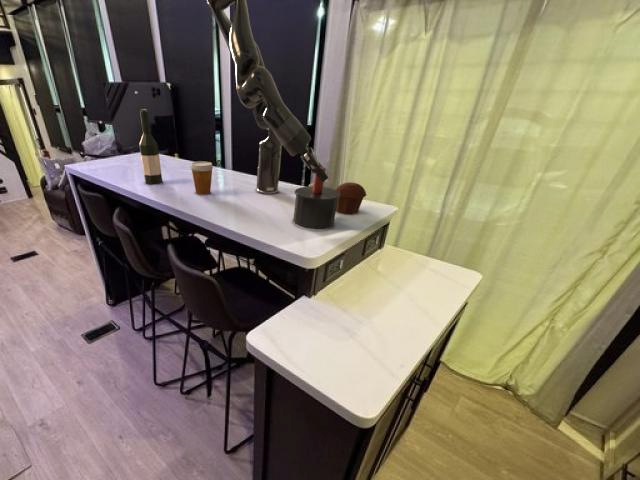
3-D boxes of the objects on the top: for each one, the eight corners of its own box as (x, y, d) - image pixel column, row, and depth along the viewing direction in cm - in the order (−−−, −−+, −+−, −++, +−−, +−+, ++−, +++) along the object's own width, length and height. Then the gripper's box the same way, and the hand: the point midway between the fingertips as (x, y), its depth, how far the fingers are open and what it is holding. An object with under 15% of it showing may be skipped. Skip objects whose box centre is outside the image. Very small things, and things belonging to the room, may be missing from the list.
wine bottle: (160, 184, 146) (150, 110, 128) (142, 184, 146) (130, 110, 128) (164, 180, 152) (155, 109, 135) (147, 180, 152) (136, 108, 135)
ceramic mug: (304, 198, 131) (307, 179, 126) (320, 196, 134) (323, 177, 129) (320, 206, 123) (323, 186, 119) (336, 203, 126) (340, 184, 122)
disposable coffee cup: (211, 189, 141) (209, 160, 134) (216, 195, 133) (215, 165, 127) (190, 190, 138) (188, 161, 131) (194, 196, 131) (192, 166, 124)
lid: (286, 192, 105) (288, 165, 100) (319, 187, 110) (324, 161, 106) (313, 205, 94) (317, 175, 89) (349, 199, 100) (355, 170, 95)
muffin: (328, 212, 117) (333, 185, 111) (332, 204, 125) (337, 178, 119) (361, 217, 113) (368, 189, 107) (363, 208, 122) (369, 181, 116)
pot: (285, 219, 110) (288, 191, 104) (316, 214, 115) (320, 186, 110) (309, 233, 100) (314, 202, 95) (341, 226, 105) (347, 197, 100)
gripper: (282, 141, 101) (313, 179, 106) (281, 148, 89) (316, 191, 95) (301, 123, 97) (331, 163, 103) (302, 128, 86) (337, 173, 91)
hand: (324, 176), depth 99 cm, fingers open, 8 cm apart
